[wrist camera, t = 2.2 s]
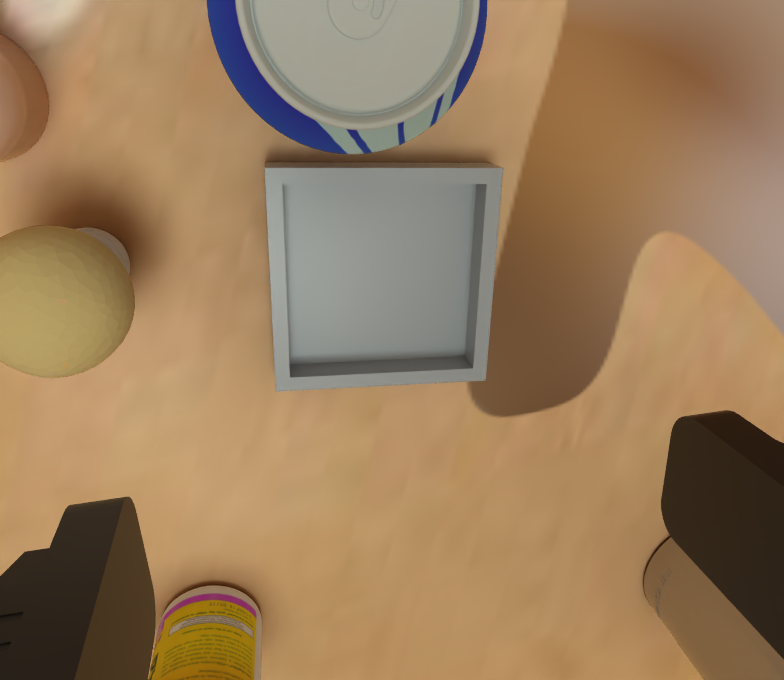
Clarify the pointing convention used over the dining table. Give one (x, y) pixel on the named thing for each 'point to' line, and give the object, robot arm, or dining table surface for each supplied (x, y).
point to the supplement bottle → (209, 637)
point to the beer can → (349, 65)
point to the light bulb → (62, 299)
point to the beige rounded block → (20, 101)
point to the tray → (381, 271)
